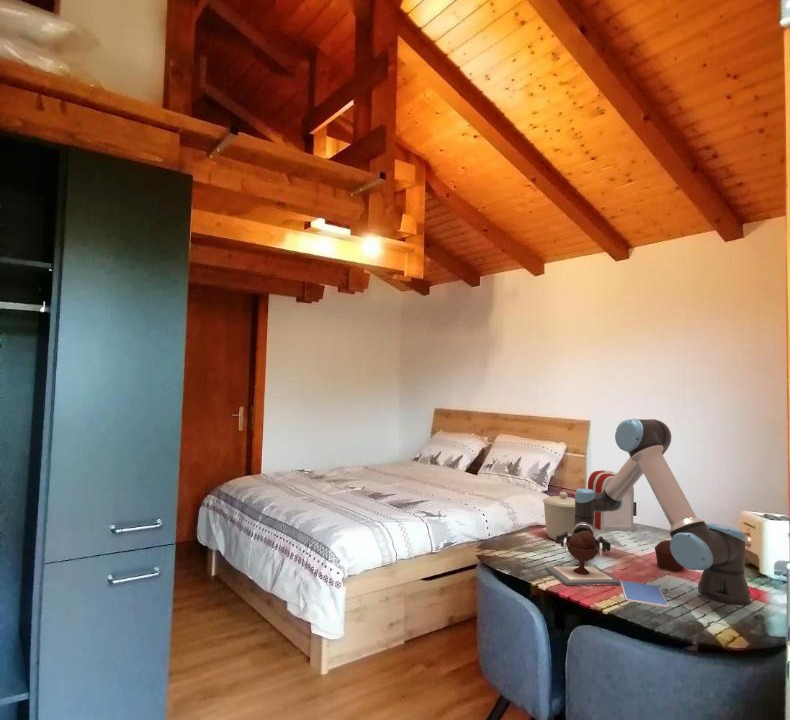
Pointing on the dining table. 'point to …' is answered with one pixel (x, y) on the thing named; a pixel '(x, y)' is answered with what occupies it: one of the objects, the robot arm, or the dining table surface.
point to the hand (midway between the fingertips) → (582, 549)
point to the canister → (559, 515)
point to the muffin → (666, 557)
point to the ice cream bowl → (582, 549)
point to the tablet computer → (643, 594)
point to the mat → (568, 582)
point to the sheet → (573, 576)
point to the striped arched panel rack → (617, 518)
